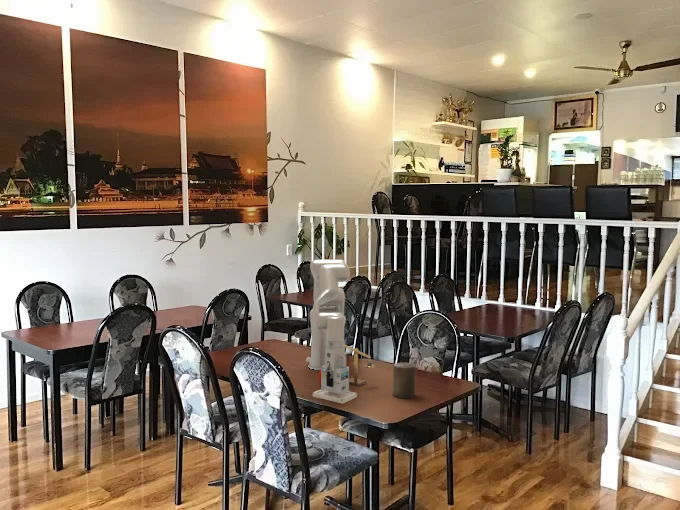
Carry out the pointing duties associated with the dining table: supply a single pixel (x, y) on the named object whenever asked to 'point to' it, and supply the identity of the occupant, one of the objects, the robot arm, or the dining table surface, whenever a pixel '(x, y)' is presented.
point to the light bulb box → (336, 380)
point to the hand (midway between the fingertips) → (334, 383)
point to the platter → (335, 396)
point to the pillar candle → (404, 380)
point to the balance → (369, 365)
